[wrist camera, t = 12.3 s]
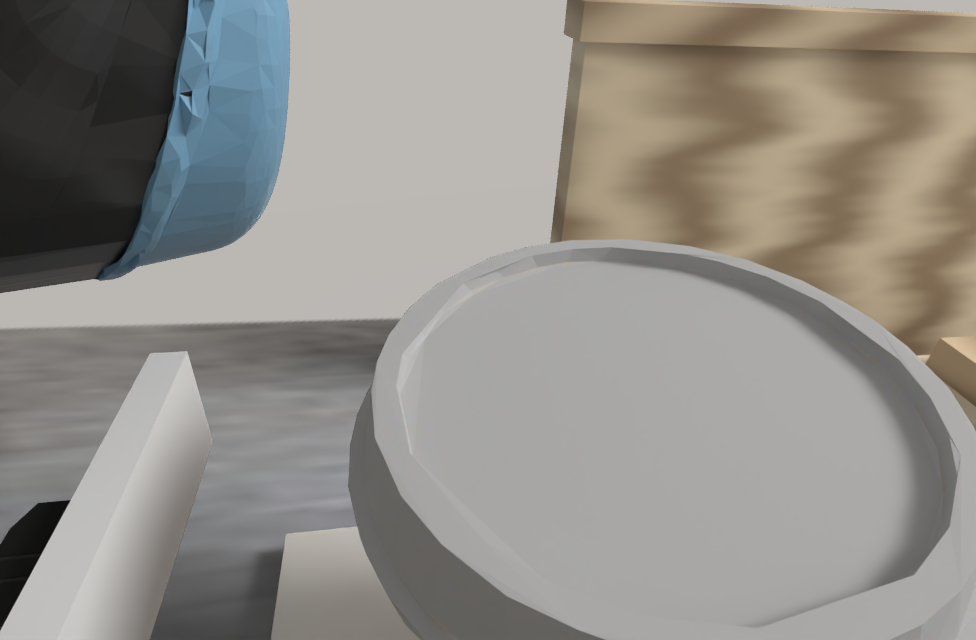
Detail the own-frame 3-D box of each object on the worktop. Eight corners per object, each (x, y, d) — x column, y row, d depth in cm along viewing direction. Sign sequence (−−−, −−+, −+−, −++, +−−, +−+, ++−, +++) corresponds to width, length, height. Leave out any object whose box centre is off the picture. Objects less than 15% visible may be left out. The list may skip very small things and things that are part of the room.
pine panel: (536, 405, 28) (584, 1, 19) (527, 379, 30) (567, -4, 21) (970, 372, 32) (1185, 25, 23) (941, 351, 34) (1130, 19, 25)
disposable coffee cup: (582, 501, 21) (627, 193, 14) (842, 744, 15) (1143, 411, 8) (343, 669, 17) (238, 334, 10) (579, 1120, 11) (754, 1088, 4)
